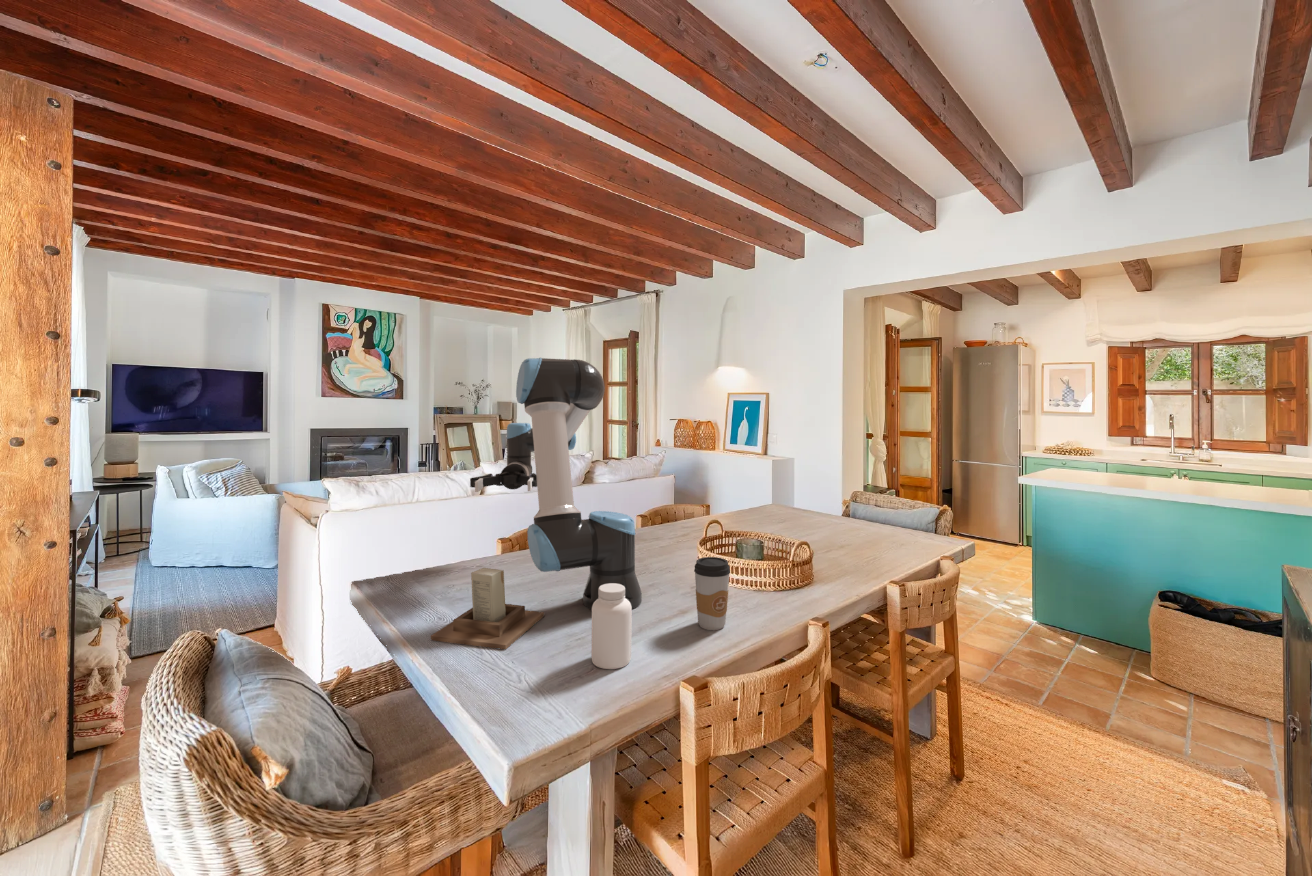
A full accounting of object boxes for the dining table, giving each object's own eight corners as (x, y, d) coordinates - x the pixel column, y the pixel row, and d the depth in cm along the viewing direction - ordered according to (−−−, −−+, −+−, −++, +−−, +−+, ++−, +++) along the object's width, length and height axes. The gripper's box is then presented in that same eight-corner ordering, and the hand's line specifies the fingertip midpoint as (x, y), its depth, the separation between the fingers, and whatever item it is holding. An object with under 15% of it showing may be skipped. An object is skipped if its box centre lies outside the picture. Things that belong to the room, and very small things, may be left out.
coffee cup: (706, 635, 118) (706, 569, 117) (687, 621, 125) (687, 559, 124) (737, 628, 122) (737, 563, 121) (716, 615, 129) (717, 554, 128)
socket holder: (544, 616, 128) (543, 602, 128) (505, 649, 111) (505, 633, 111) (477, 609, 133) (477, 595, 132) (430, 640, 115) (430, 624, 115)
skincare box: (506, 622, 122) (505, 570, 121) (493, 629, 118) (492, 575, 117) (485, 617, 125) (484, 566, 124) (471, 624, 121) (470, 571, 120)
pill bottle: (626, 672, 101) (625, 595, 100) (586, 668, 103) (585, 592, 102) (635, 653, 109) (635, 582, 108) (598, 649, 111) (598, 579, 110)
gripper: (556, 487, 164) (550, 499, 143) (472, 488, 161) (454, 501, 140) (556, 462, 163) (550, 471, 142) (472, 463, 160) (453, 473, 139)
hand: (502, 486), depth 141 cm, fingers open, 13 cm apart
